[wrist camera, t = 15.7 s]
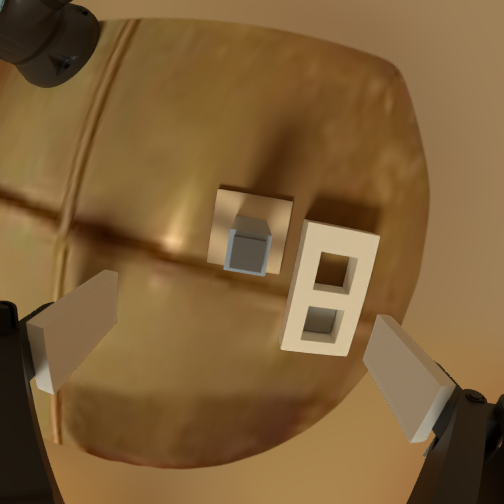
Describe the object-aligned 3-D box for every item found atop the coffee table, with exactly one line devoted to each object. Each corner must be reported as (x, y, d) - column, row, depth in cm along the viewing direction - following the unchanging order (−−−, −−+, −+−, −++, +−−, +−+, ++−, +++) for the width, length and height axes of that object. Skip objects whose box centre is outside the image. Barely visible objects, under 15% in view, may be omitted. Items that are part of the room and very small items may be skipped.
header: (304, 218, 43) (308, 221, 39) (370, 232, 43) (380, 236, 40) (278, 338, 46) (280, 349, 43) (340, 345, 47) (346, 356, 43)
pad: (218, 188, 42) (217, 188, 41) (292, 201, 42) (292, 201, 41) (207, 261, 44) (206, 262, 43) (278, 272, 44) (279, 274, 44)
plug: (236, 215, 42) (229, 229, 29) (266, 220, 42) (272, 237, 29) (231, 244, 43) (222, 271, 30) (260, 249, 43) (265, 278, 30)
